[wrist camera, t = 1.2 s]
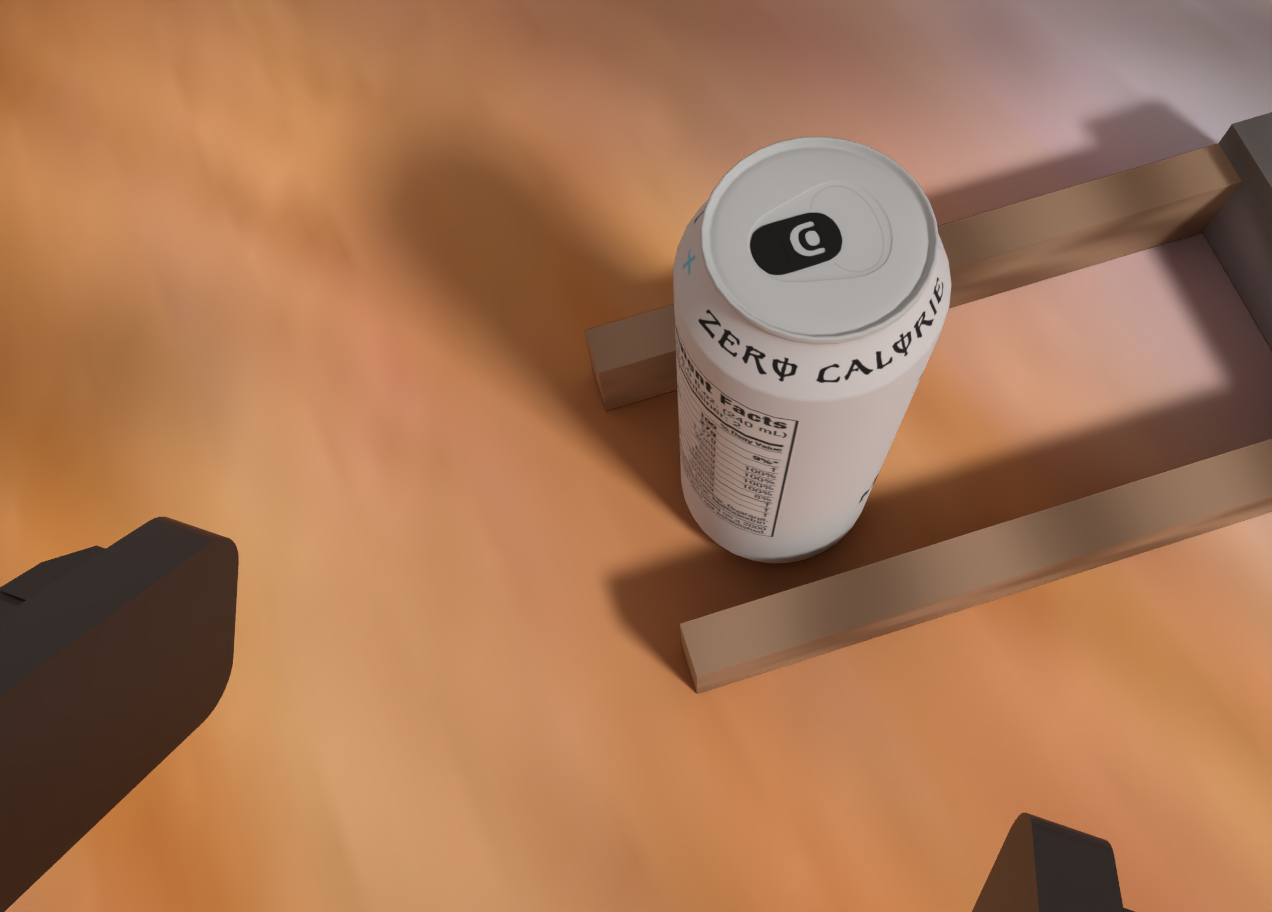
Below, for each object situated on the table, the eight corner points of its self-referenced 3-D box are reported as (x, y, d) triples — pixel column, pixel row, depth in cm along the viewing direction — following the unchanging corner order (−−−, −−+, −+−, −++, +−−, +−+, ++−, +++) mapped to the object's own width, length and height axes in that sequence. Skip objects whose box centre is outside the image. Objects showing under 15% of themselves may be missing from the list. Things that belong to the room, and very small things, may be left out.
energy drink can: (892, 539, 36) (1019, 315, 22) (715, 595, 35) (726, 405, 21) (825, 378, 38) (901, 80, 24) (657, 429, 37) (634, 158, 23)
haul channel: (1259, 172, 40) (1317, 99, 36) (1437, 459, 36) (1523, 409, 32) (592, 370, 38) (581, 315, 35) (696, 694, 34) (696, 670, 30)
